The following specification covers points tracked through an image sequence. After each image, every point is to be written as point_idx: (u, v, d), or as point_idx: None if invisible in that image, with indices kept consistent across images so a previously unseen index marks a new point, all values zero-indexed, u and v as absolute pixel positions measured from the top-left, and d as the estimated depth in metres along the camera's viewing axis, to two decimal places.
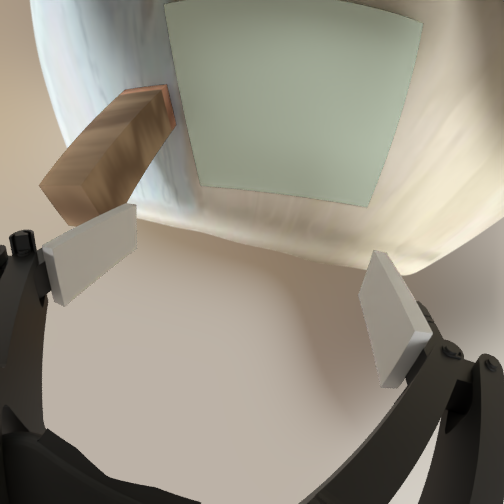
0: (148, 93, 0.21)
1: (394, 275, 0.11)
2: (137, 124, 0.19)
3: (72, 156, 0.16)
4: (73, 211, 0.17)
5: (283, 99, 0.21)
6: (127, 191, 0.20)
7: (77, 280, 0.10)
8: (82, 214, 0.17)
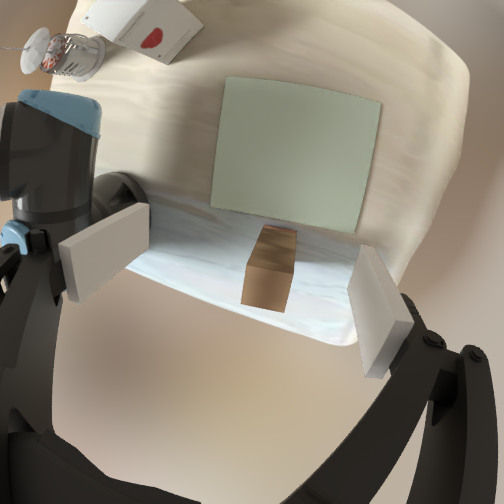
0: None
1: (379, 268, 0.11)
2: (263, 240, 0.36)
3: None
4: (269, 293, 0.30)
5: (284, 154, 0.37)
6: (288, 259, 0.32)
7: (93, 278, 0.11)
8: (272, 286, 0.30)
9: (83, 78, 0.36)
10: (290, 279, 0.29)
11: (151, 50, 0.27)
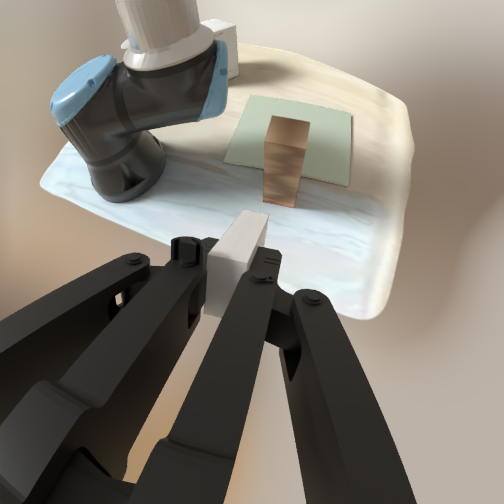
0: None
1: (255, 227, 0.13)
2: None
3: None
4: (291, 133, 0.31)
5: None
6: None
7: None
8: (294, 128, 0.31)
9: None
10: (308, 124, 0.32)
11: None
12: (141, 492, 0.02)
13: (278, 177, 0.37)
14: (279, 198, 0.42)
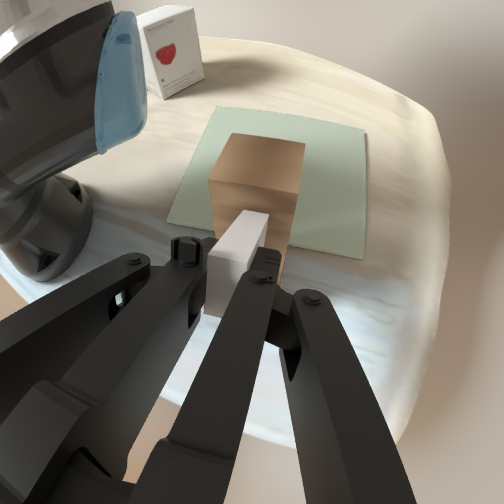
0: None
1: (255, 227, 0.13)
2: None
3: None
4: (267, 162, 0.16)
5: None
6: None
7: None
8: (273, 154, 0.16)
9: None
10: (302, 148, 0.17)
11: (159, 66, 0.33)
12: (141, 492, 0.02)
13: None
14: None
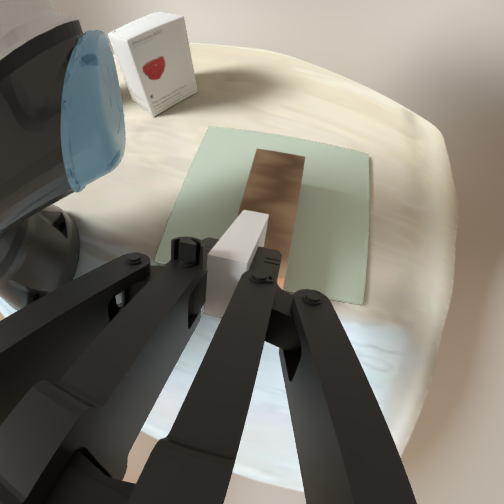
0: None
1: (255, 227, 0.13)
2: None
3: None
4: None
5: None
6: None
7: None
8: None
9: None
10: None
11: (148, 81, 0.31)
12: (141, 492, 0.02)
13: (263, 206, 0.24)
14: None
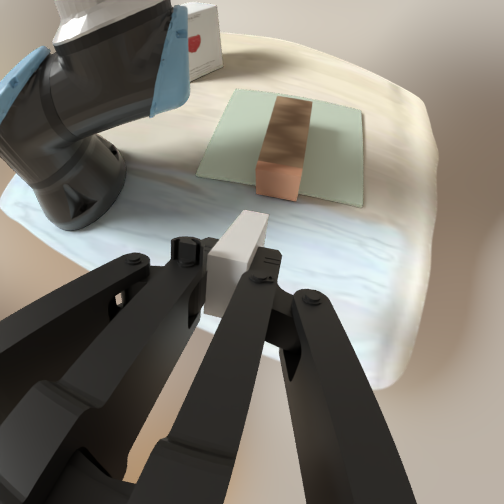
0: None
1: (255, 227, 0.13)
2: None
3: None
4: None
5: None
6: None
7: None
8: None
9: None
10: None
11: None
12: (141, 492, 0.02)
13: (284, 128, 0.31)
14: (281, 159, 0.29)
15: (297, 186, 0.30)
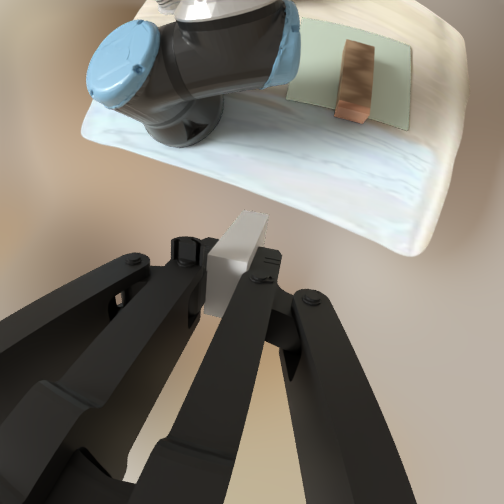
0: (336, 105, 0.39)
1: (255, 227, 0.13)
2: None
3: (343, 56, 0.35)
4: None
5: None
6: None
7: None
8: None
9: (173, 11, 0.41)
10: None
11: None
12: (141, 492, 0.02)
13: (355, 72, 0.34)
14: (355, 100, 0.35)
15: (365, 118, 0.37)
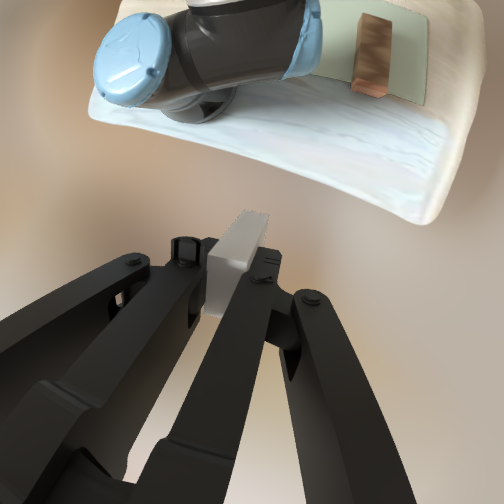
0: (352, 79, 0.36)
1: (255, 227, 0.13)
2: None
3: (359, 29, 0.30)
4: None
5: None
6: None
7: None
8: None
9: None
10: None
11: None
12: (141, 492, 0.02)
13: (372, 48, 0.30)
14: (373, 78, 0.32)
15: (382, 95, 0.34)
